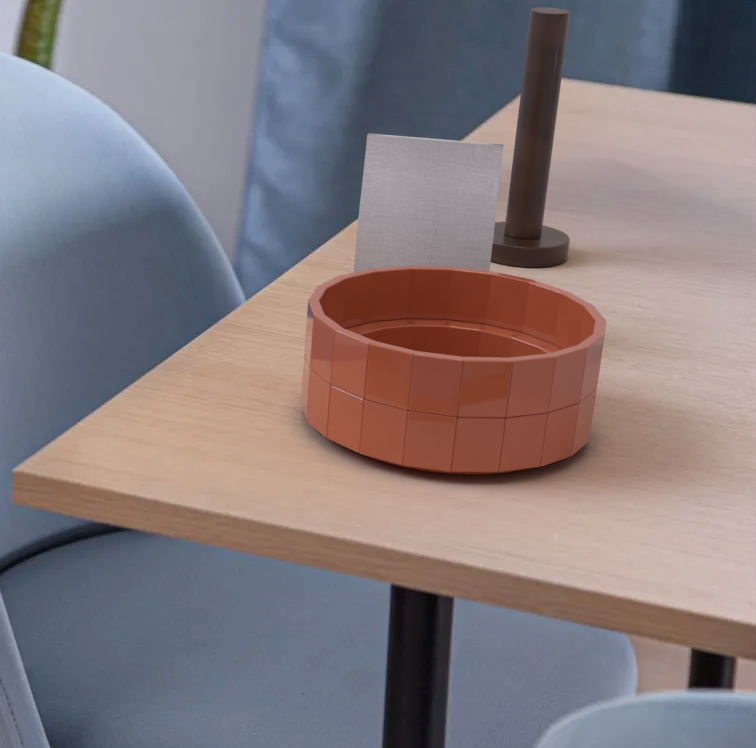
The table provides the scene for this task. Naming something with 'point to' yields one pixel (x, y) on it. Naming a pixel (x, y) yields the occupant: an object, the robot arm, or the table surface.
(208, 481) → the table surface
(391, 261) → the grey rectangular block
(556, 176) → the table surface
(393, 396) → the bowl
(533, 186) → the rod
